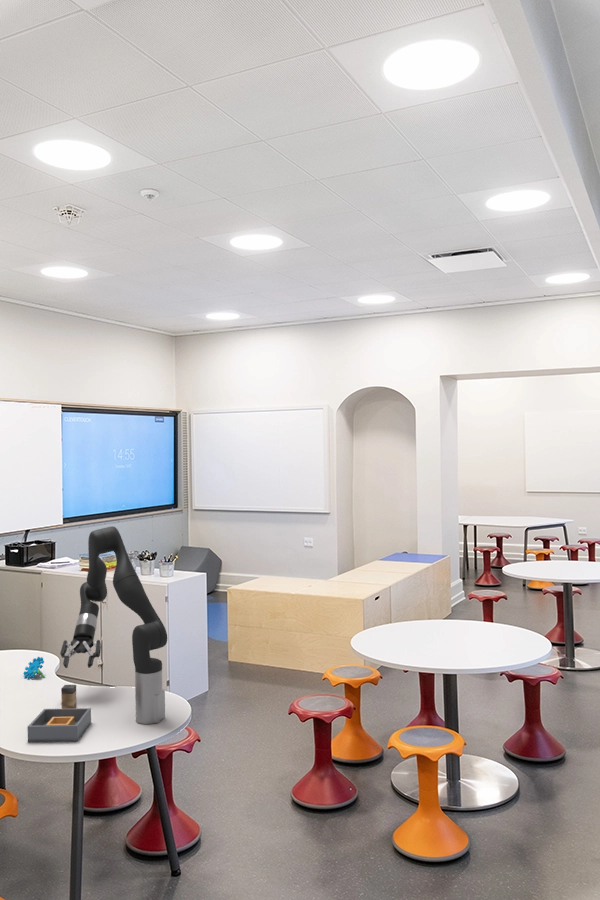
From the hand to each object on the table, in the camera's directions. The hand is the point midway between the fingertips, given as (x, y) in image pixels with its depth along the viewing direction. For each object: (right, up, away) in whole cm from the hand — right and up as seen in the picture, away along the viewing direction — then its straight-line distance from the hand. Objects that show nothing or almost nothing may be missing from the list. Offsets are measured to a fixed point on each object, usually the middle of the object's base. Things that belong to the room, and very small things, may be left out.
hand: (77, 666), depth 273 cm
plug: (0, -14, -10) cm, 17 cm away
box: (+2, -14, -26) cm, 30 cm away
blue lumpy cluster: (-28, -14, +33) cm, 45 cm away
